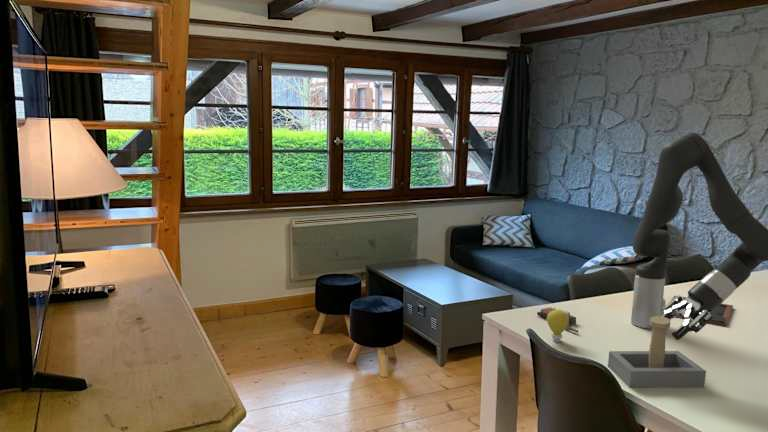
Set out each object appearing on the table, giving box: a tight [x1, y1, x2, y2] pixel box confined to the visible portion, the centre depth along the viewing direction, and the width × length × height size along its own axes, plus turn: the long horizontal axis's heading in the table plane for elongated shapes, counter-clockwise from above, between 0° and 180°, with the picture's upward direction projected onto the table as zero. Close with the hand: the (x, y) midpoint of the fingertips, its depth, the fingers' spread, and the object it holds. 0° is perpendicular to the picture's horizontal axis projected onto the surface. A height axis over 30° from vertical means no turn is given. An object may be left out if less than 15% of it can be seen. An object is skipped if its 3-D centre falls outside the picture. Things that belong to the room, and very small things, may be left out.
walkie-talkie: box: [536, 307, 579, 334], centre depth 193 cm, size 9×4×20 cm
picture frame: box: [668, 295, 734, 328], centre depth 208 cm, size 20×2×25 cm
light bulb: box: [546, 308, 569, 343], centre depth 177 cm, size 7×7×10 cm
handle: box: [648, 316, 671, 368], centre depth 152 cm, size 5×6×15 cm
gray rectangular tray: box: [607, 350, 707, 388], centre depth 153 cm, size 20×13×4 cm, turn 92°
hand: (665, 331), depth 152 cm, fingers open, 8 cm apart
